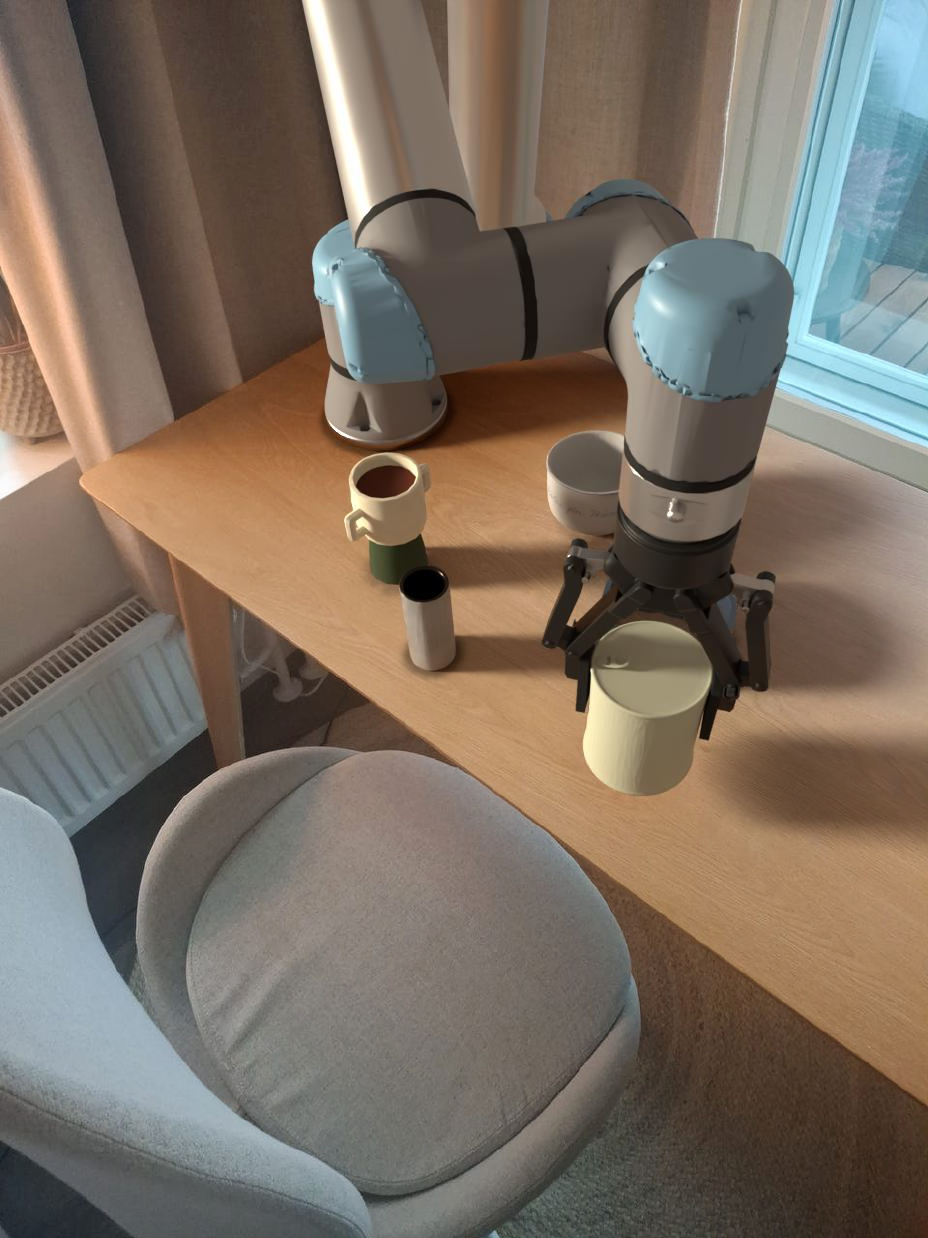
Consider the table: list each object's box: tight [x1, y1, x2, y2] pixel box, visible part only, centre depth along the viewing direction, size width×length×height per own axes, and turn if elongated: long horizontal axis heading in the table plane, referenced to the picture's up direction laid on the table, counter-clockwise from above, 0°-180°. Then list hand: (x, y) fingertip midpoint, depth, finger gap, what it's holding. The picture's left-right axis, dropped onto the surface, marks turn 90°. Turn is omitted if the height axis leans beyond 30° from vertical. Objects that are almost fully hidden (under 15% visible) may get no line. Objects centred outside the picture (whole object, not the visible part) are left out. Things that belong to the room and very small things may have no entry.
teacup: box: [545, 429, 625, 537], centre depth 97 cm, size 14×11×8 cm
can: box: [582, 620, 714, 797], centre depth 72 cm, size 9×9×12 cm
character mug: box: [344, 451, 432, 586], centre depth 92 cm, size 11×7×13 cm, turn 135°
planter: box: [398, 564, 457, 671], centre depth 85 cm, size 4×4×10 cm
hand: (643, 711), depth 73 cm, fingers closed on can, 9 cm apart
